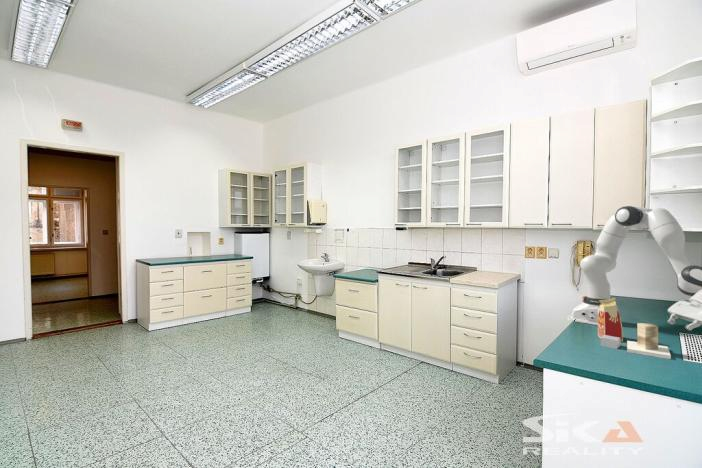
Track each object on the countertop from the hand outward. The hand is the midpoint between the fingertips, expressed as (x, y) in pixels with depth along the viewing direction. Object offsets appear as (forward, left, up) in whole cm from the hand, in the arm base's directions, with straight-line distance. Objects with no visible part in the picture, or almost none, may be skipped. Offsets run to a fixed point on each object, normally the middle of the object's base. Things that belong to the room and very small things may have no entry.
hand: (678, 326), depth 151 cm
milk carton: (-24, +7, -12) cm, 28 cm away
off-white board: (-10, -6, -11) cm, 17 cm away
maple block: (-10, -6, -10) cm, 16 cm away
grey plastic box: (-23, -7, -12) cm, 27 cm away
